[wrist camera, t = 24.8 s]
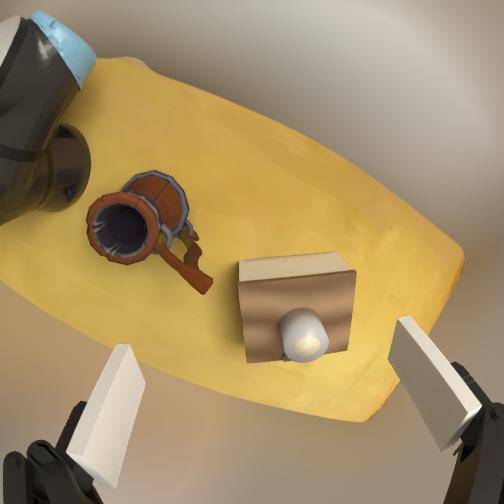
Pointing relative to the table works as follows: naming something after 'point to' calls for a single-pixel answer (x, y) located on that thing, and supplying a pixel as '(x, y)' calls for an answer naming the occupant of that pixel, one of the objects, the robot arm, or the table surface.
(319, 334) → the grey squat drum
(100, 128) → the table surface
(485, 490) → the robot arm
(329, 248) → the table surface
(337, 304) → the lid
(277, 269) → the box
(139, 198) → the mug
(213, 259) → the table surface
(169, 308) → the table surface
